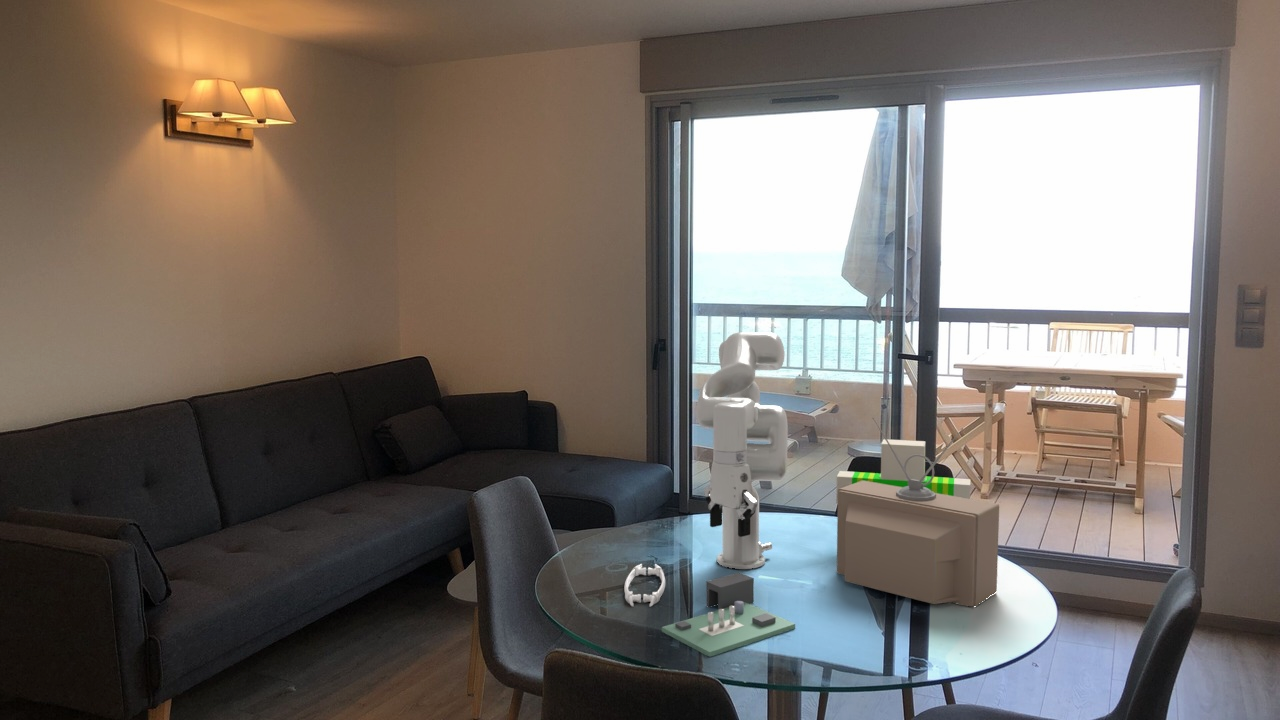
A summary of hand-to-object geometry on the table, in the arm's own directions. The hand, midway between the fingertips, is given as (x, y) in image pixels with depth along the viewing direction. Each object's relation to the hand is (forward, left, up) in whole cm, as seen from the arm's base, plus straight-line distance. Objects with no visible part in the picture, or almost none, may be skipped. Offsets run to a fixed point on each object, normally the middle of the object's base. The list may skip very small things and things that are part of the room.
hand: (729, 530), depth 213 cm
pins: (+12, +11, -18) cm, 24 cm away
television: (-42, +17, -18) cm, 49 cm away
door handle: (+9, -21, -18) cm, 29 cm away
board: (+10, +11, -18) cm, 23 cm away
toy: (-62, -1, -18) cm, 65 cm away
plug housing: (0, 0, -18) cm, 18 cm away
